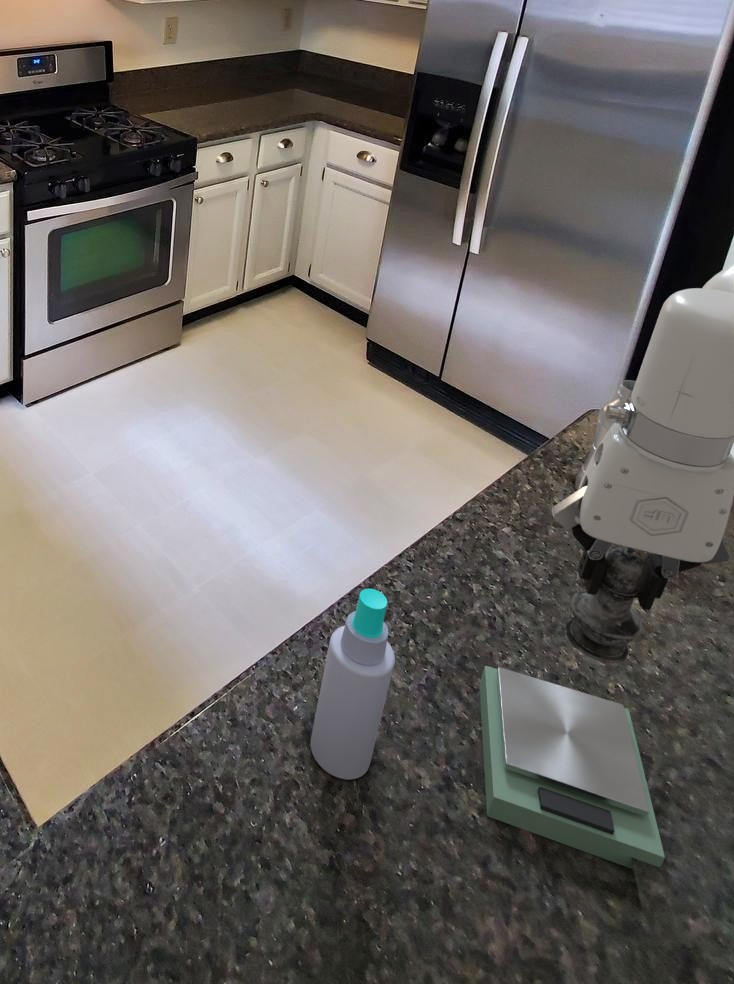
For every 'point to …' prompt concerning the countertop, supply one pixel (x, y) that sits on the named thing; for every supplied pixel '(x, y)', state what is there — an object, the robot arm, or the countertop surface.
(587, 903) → the countertop surface
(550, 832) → the scale
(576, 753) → the scale platform
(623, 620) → the grey chess piece
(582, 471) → the plastic bottle
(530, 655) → the countertop surface
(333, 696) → the spray bottle
